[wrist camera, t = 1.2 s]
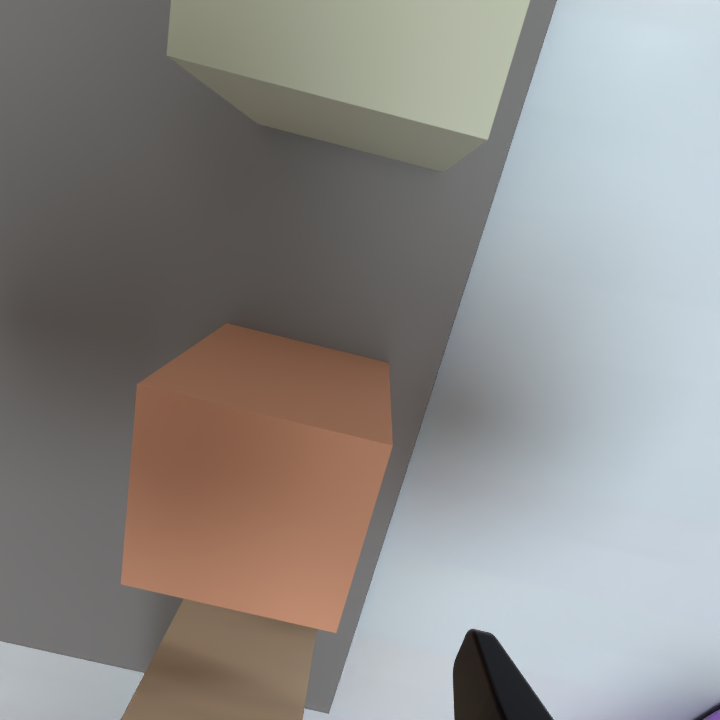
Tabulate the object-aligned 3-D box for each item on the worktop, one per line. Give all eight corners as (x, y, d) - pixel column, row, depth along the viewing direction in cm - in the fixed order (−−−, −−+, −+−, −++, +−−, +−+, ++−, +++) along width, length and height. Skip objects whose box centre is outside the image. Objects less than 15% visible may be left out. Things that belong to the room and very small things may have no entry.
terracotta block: (351, 498, 15) (336, 632, 10) (206, 464, 15) (120, 584, 10) (389, 363, 13) (392, 445, 8) (226, 323, 13) (137, 384, 8)
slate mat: (329, 700, 18) (328, 713, 18) (-166, 590, 18) (-181, 601, 17) (580, -88, 10) (589, -103, 10) (-348, -348, 9) (-386, -378, 9)
